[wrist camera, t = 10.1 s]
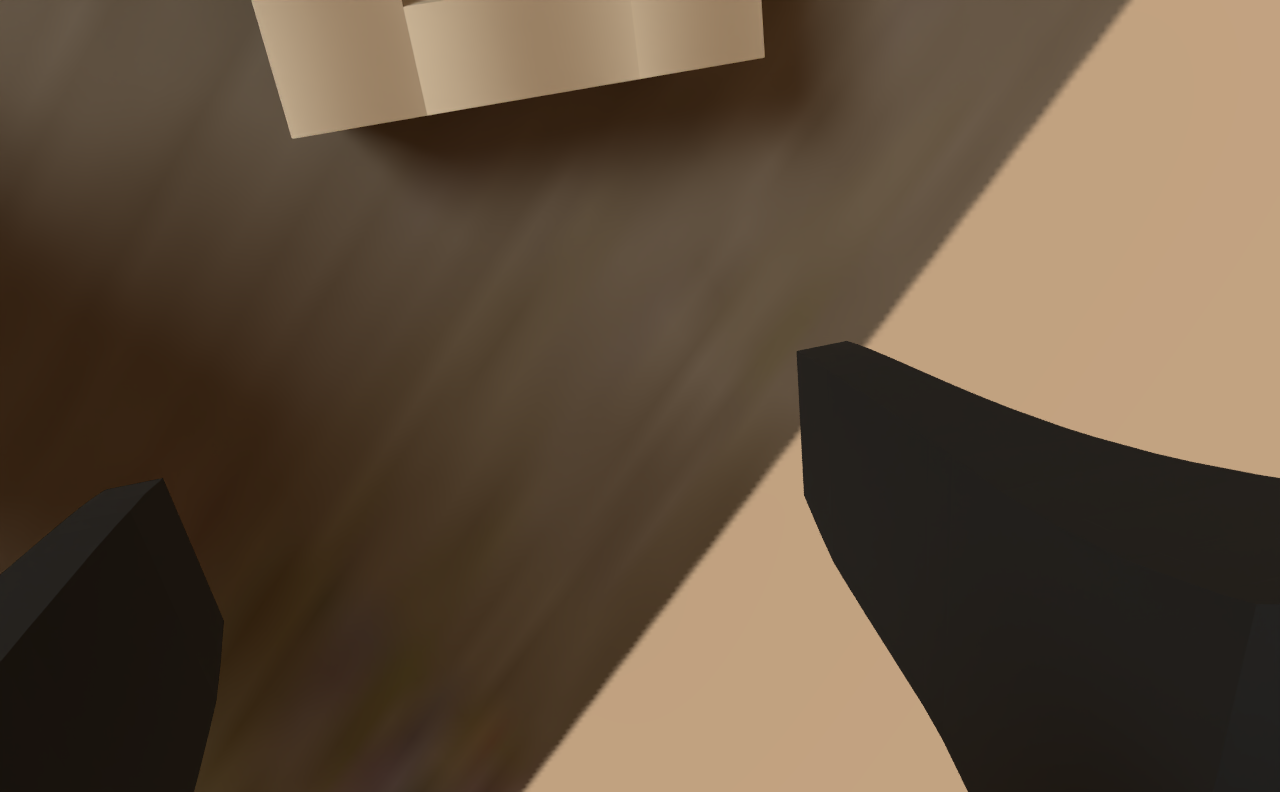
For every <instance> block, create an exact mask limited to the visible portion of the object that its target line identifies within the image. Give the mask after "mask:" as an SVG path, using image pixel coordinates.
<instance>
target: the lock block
mask: <svg viewBox="0 0 1280 792" xmlns="http://www.w3.org/2000/svg"><path fill="white" fill-rule="evenodd" d="M251 1H252V4H253V7H254V11H255V14H256V18H257V21H258V24H259V28H260V31H261V35H262V38H263V41H264V45H265V48H266V52H267V55H268V58H269V62H270V65H271V69H272V72H273V75H274V79H275V82H276V86H277V89H278V92H279V96H280V99H281V103H282V106H283V109H284V113H285V116H286V120H287V123H288V126H289V130H290V133H291V137H292V139H294V138H299V137H305V136H311V135H317V134H323V133H328V132H334V131H340V130H346V129H352V128H358V127H363V126H369V125H375V124H381V123H387V122H393V121H398V120H404V119H410V118H416V117H422V116H427V115H433V114H439V113H445V112H451V111H457V110H462V109H468V108H474V107H480V106H486V105H491V104H497V103H503V102H509V101H515V100H521V99H526V98H532V97H538V96H544V95H550V94H555V93H561V92H567V91H573V90H579V89H585V88H590V87H596V86H602V85H608V84H614V83H620V82H625V81H631V80H637V79H643V78H649V77H654V76H660V75H666V74H672V73H678V72H684V71H689V70H695V69H701V68H707V67H713V66H718V65H724V64H730V63H736V62H742V61H748V60H753V59H759V58H765V54H764V37H763V19H762V2H761V0H251Z"/></svg>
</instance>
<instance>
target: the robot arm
mask: <svg viewBox="0 0 1280 792" xmlns="http://www.w3.org/2000/svg"><path fill="white" fill-rule="evenodd" d="M797 368H798V387H799V406H800V426H801V445H802V463H803V483H804V496H805V499H806V501H807V503H808V506H809V508H810V510H811V513H812V515H813V517H814V520H815V522H816V524H817V527H818V529H819V531H820V533H821V535H822V538H823V540H824V542H825V544H826V547H827V548H828V551H829V553H830V555H831V558H832V560H833V562H834V564H835V565H836V567H837V568H838V570H839V572H840V574H841V575H842V577H843V579H844V580H845V582H846V583H847V585H848V587H849V588H850V590H851V592H852V593H853V595H854V596H855V598H856V600H857V601H858V603H859V604H860V606H861V608H862V609H863V611H864V612H865V614H866V616H867V617H868V619H869V620H870V622H871V623H872V625H873V627H874V628H875V630H876V631H877V633H878V635H879V636H880V638H881V639H882V641H883V643H884V644H885V646H886V647H887V649H888V650H889V652H890V653H891V655H892V657H893V658H894V660H895V662H896V663H897V665H898V666H899V668H900V670H901V671H902V673H903V674H904V676H905V677H906V679H907V681H908V682H909V684H910V685H911V687H912V689H913V690H914V692H915V693H916V695H917V696H918V698H919V699H920V701H921V703H922V704H923V706H924V708H925V710H926V711H927V713H928V715H929V716H930V718H931V720H932V722H933V724H934V725H935V727H936V729H937V731H938V732H939V734H940V736H941V738H942V740H943V741H944V743H945V746H946V747H947V750H948V752H949V754H950V756H951V758H952V760H953V762H954V764H955V766H956V768H957V770H958V772H959V774H960V776H961V778H962V780H963V782H964V785H965V787H966V788H967V790H968V792H1280V478H1275V477H1268V476H1263V475H1256V474H1252V473H1246V472H1241V471H1236V470H1231V469H1226V468H1220V467H1215V466H1210V465H1205V464H1200V463H1194V462H1189V461H1186V460H1181V459H1177V458H1172V457H1167V456H1164V455H1159V454H1155V453H1151V452H1148V451H1144V450H1140V449H1137V448H1133V447H1129V446H1125V445H1122V444H1118V443H1115V442H1111V441H1107V440H1104V439H1100V438H1096V437H1093V436H1090V435H1086V434H1083V433H1080V432H1077V431H1074V430H1070V429H1067V428H1064V427H1061V426H1058V425H1055V424H1053V423H1050V422H1047V421H1044V420H1041V419H1039V418H1036V417H1033V416H1030V415H1028V414H1025V413H1022V412H1019V411H1016V410H1013V409H1011V408H1008V407H1006V406H1003V405H1000V404H998V403H996V402H993V401H990V400H988V399H985V398H983V397H981V396H978V395H976V394H973V393H971V392H968V391H966V390H964V389H961V388H959V387H957V386H954V385H952V384H950V383H947V382H945V381H943V380H940V379H938V378H936V377H933V376H931V375H929V374H927V373H924V372H922V371H920V370H917V369H915V368H913V367H910V366H908V365H906V364H904V363H902V362H899V361H897V360H895V359H892V358H890V357H887V356H885V355H883V354H880V353H878V352H876V351H873V350H871V349H868V348H866V347H863V346H861V345H858V344H855V343H852V342H848V341H845V342H840V343H835V344H830V345H825V346H820V347H815V348H810V349H805V350H800V351H797ZM223 624H224V620H223V618H222V616H221V613H220V611H219V609H218V606H217V604H216V601H215V599H214V597H213V594H212V592H211V590H210V587H209V585H208V583H207V580H206V578H205V576H204V573H203V571H202V569H201V566H200V564H199V562H198V559H197V557H196V555H195V552H194V550H193V548H192V545H191V543H190V541H189V538H188V536H187V534H186V531H185V529H184V527H183V524H182V522H181V520H180V517H179V515H178V513H177V510H176V508H175V505H174V503H173V501H172V498H171V496H170V494H169V491H168V489H167V487H166V484H165V482H164V480H163V478H162V479H157V480H152V481H147V482H142V483H137V484H132V485H127V486H122V487H117V488H112V489H107V490H104V491H103V492H101V493H100V494H98V495H97V496H95V497H94V498H92V499H91V500H90V501H88V502H87V503H86V504H84V505H83V506H82V507H80V508H79V509H78V510H77V511H75V512H74V513H73V514H71V515H70V516H69V517H68V518H67V519H65V520H64V521H63V522H62V523H61V524H59V525H58V526H57V527H56V528H55V529H53V530H52V531H51V532H50V533H49V534H47V535H46V536H45V537H44V538H43V539H42V540H40V541H39V542H38V543H37V544H36V545H35V546H33V547H32V548H31V549H30V550H29V551H28V552H26V553H25V554H24V555H23V556H22V557H20V558H19V559H18V560H17V561H16V562H15V563H13V564H12V565H11V566H10V567H9V568H8V569H6V570H5V571H4V572H3V573H2V574H1V575H0V792H194V790H195V786H196V782H197V778H198V774H199V770H200V766H201V762H202V758H203V754H204V750H205V746H206V742H207V738H208V734H209V730H210V726H211V721H212V717H213V713H214V708H215V704H216V699H217V690H218V681H219V672H220V663H221V650H222V637H223Z"/></svg>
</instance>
